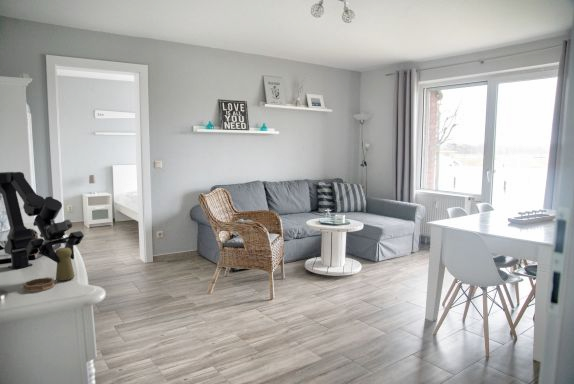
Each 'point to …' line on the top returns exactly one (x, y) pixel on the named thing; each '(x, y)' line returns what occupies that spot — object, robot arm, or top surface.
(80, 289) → the top surface
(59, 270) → the cork
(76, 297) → the top surface
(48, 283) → the walnut stand
